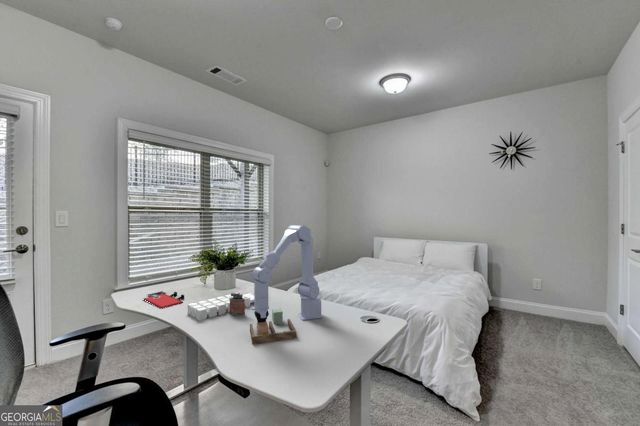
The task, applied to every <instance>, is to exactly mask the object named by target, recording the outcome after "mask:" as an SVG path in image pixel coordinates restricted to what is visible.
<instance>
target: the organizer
mask: <svg viewBox="0 0 640 426" xmlns="http://www.w3.org/2000/svg"><path fill="white" fill-rule="evenodd" d="M235 293H236V294H237V293H238V292H235ZM231 297H233V296H231V293H230V294H226V295H224V296H223V295H222V296H216V298H213V297H212V298H209V299H206V300H200V301H197V302H192V303H188V304H187V314H188V315H190V316H191V317H192V318H194V319H196V320H197V321H199V322H200V321H203V320H206V319H208V318H213V317H216V316H218V315H219V316H220V315H224V314H226V313H229V312H230V300H229V298H231ZM242 298H245V308H249V307H251V303H254V294H253V293H252V292H250V293H245V294H243V297H242Z"/></svg>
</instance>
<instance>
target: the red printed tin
mask: <svg viewBox="0 0 640 426" xmlns="http://www.w3.org/2000/svg"><path fill="white" fill-rule="evenodd" d="M236 293H237V294H236ZM230 294H231V296H233V297H231V298H229V300H230V312H228V314H229V315H230V316H231V315H233V316H244V315H246V312H245V311H246V309H245V308H246V307H245V298H242V297H243V295H244V294H242V293H240V292H231V293H230Z"/></svg>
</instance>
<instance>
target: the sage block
mask: <svg viewBox="0 0 640 426" xmlns="http://www.w3.org/2000/svg"><path fill="white" fill-rule="evenodd" d="M271 310H272V312H271V318H272V319H271V320H272V321H271V322H272V324H273V325H275V324H277V325H278V324H283V321H284V320H283V309H281V308H277V309H276V308H275V309H271Z"/></svg>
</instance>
